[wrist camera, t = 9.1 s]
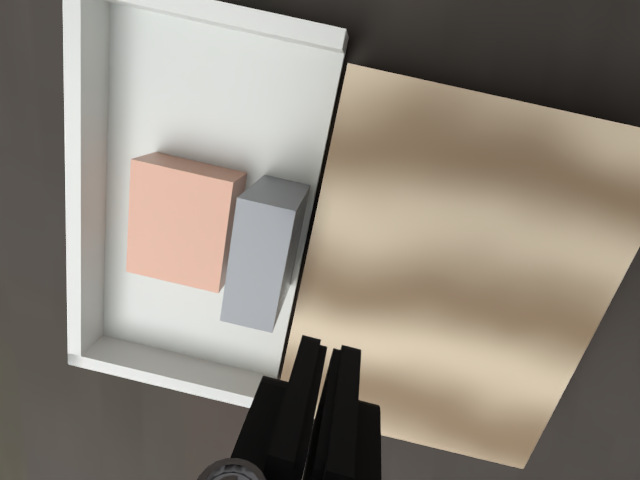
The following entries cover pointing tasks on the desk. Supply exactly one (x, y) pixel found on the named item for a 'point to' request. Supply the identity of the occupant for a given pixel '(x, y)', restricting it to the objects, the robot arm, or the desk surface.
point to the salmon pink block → (181, 219)
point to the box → (190, 143)
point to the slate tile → (263, 251)
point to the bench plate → (465, 256)
